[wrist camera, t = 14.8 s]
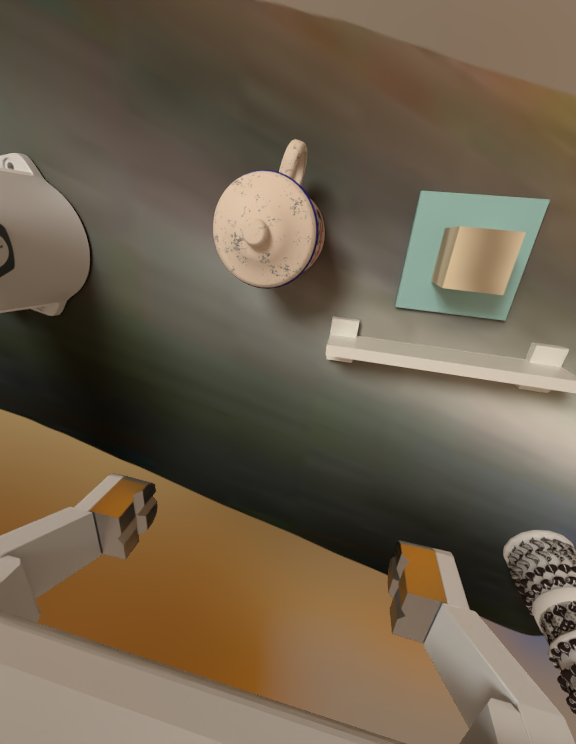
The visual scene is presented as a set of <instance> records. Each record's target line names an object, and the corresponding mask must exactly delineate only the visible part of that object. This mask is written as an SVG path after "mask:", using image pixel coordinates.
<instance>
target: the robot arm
mask: <svg viewBox="0 0 576 744" xmlns="http://www.w3.org/2000/svg"><path fill="white" fill-rule="evenodd" d="M89 267H90V251H89V244H88V240H87V236H86V233H85V230H84V228H83V225H82V223H81V221H80V219H79V217H78V215H77V214H76V212H75V210H74V209H73V207H72V206H71V205H70V203H69V202H68V201H67V200H66V199H65V198H64V196H63V195H62V194H61V193H59V192H58V191H57V190H56V189H55V188H54V187H52V186H51V185H50V184H49V183H48V182H47V181H46V180H45V179H44V178H43V177H42V175H41V174H40V172H39V171H38V169H37V167H36V166H35V165H34V163H33V162H32V161H31V159H30V158H29V157H28V156H26V155H25V154H20V153H10V154H6V155H1V156H0V313H3V312H10V311H17V310H24V309H32V310H35V311H37V312H40V313H43V314H46V315H49V316H55V315H60V314H61V313H62V311H63V309H64V307H65V304H66V302H67V300H68V299H69V298H70V297H72V296H73V295H74V294H76V293H77V292H78V291H79V290H80V289H81V288H82V286H83V285H84V283H85V281H86V279H87V276H88V272H89ZM155 492H156V489H155V484H153V483H150V482H147V481H142V480H139V479H135V478H132V477H128V476H123V475H119V474H116V473H113V474H110V475H108V476H107V477H106V478H105V479H104V480H103V481H102V482H101V483H100V484H99V485H97V486H96V488H94V489H93V490H92V491H91V492H90V493H89V494H88V495H87V496H86V497H85V498H84V499H82V500H81V502H79V503H78V504H77V505H76V506H75V507H74V508H73V507H68V508H66V509H63V510H61V511H58V512H56V513H54V514H51V515H49V516H47V517H44V518H42V519H39V520H37V521H35V522H32V523H30V524H27V525H25V526H23V527H20V528H18V529H15V530H13V531H11V532H9V533H6V534H4V535H1V536H0V744H406V743H402V742H399V741H396V740H393V739H390V738H387V737H384V736H381V735H378V734H375V733H372V732H369V731H366V730H363V729H360V728H357V727H354V726H351V725H348V724H345V723H342V722H339V721H336V720H332V719H329V718H326V717H323V716H320V715H317V714H314V713H311V712H308V711H305V710H302V709H299V708H296V707H293V706H290V705H287V704H284V703H281V702H278V701H274V700H272V699H268V698H265V697H262V696H259V695H256V694H253V693H250V692H247V691H244V690H241V689H238V688H235V687H232V686H229V685H226V684H223V683H220V682H217V681H214V680H211V679H208V678H205V677H202V676H198V675H195V674H192V673H189V672H186V671H183V670H180V669H177V668H174V667H171V666H168V665H165V664H162V663H159V662H156V661H153V660H149V659H147V658H144V657H141V656H137V655H135V654H131V653H128V652H126V651H122V650H119V649H116V648H113V647H110V646H107V645H104V644H101V643H98V642H95V641H91V640H89V639H86V638H83V637H80V636H77V635H74V634H71V633H68V632H65V631H61V630H58V629H55V628H52V627H49V626H46V625H43V624H40V623H37V622H36V621H37V620H38V619H39V618H40V610H39V607H38V604H37V602H36V598H37V597H39V596H40V595H42V594H43V593H45V592H46V591H48V590H49V589H51V588H52V587H54V586H56V585H57V584H59V583H60V582H61V581H63V580H65V579H66V578H68V577H69V576H71V575H72V574H74V573H75V572H77V571H78V570H80V569H81V568H83V567H84V566H86V565H87V564H89V563H91V562H92V561H94V560H95V559H97V558H98V557H100V556H101V554H105V555H109V556H113V557H117V558H122V559H126V558H127V557H128V556H129V554H130V553H131V552H132V550H133V549H134V548H135V546H136V545H137V543H138V542H139V534H141V533H143V532H145V531H146V530H148V528H149V527H150V526H151V524H152V523H153V520H154V518H155V516H156V513H157V501H156V499H155V498H154V497H153V494H154V493H155ZM394 549H395V557H393V558H391V561H390V565H389V570H388V592H389V594H390V595H391V597H392V599H393V601H392V604H391V607H390V616H391V627H392V634H394V635H397V636H401V637H404V638H407V639H410V640H413V641H417V642H420V643H423V644H424V645H423V646H424V647H425V650H426V651H427V653H428V655H429V657H430V659H431V660H432V662H433V664H434V666H435V667H436V669H437V671H438V673H439V675H440V676H441V678H442V680H443V682H444V684H445V686H446V687H447V689H448V691H449V693H450V695H451V697H452V698H453V700H454V702H455V704H456V706H457V707H458V709H459V711H460V713H461V715H462V716H463V718H464V720H465V722H466V723H467V725H468V727H469V730H468V732H467V733H466V735H465V736H464V738H463V739H462V741H461V742H460V744H575V742H574V739H573V737H572V735H571V732H570V730H569V728H568V726H567V723H566V721H565V719H564V717H563V716H562V715H561V713H560V712H559V711H558V710H557V709H556V707H555V706H554V705H553V704H552V703H551V701H550V700H549V699H548V698H547V697H546V696H545V694H544V693H543V692H542V691H541V690H540V688H539V687H538V686H537V685H536V684H535V682H534V681H533V680H532V679H531V678H530V676H529V675H528V674H527V673H526V672H525V670H524V669H523V668H522V667H521V665H520V664H519V663H518V662H517V661H516V659H515V658H514V657H513V656H512V655H511V654H510V652H509V651H508V650H507V649H506V648H505V646H504V645H503V644H502V643H501V642H500V641H499V639H498V638H497V637H496V636H495V634H493V632H492V631H491V630H490V628H489V627H488V626H487V625H486V624H485V622H484V621H483V620H482V619H481V618H480V616H479V615H478V614H477V613H476V612H475V611H472V610H470V609H469V606H468V603H467V599H466V596H465V593H464V590H463V586H462V583H461V580H460V576H459V573H458V570H457V567H456V563H455V560H454V557H453V555H452V554H451V552H447V551H443V550H439V549H434V548H431V547H426V546H422V545H417V544H413V543H408V542H404V541H399V540H398V541H397V543H396V545H395V548H394Z"/></svg>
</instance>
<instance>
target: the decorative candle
mask: <svg viewBox="0 0 576 744" xmlns="http://www.w3.org/2000/svg"><path fill="white" fill-rule="evenodd" d="M503 556H504V558H505V560H506V562H507V567H509V568H512V570H511V571H510V573H511V574H512V578H513V579H516V580H517V581H516V582H515V585H516V586H518V587H519V589H518V591H519V592H520V593H521V594H522V599H523V600H524V604H525V606H526V607H528V608H527V610H528V612H529V614H531V615H533V616H534V618H535V620H536V622H537V624H538V626H539V628H540V630H541V632H542V633H543V634H544V636H545V638H546V640H547V642H548V644H549V646H550V648H549V653H548V654H549V657H550V658H549V660H550V661H552V662H553V664H554V667H555V668H557V669H558V670H560V671H561V673H560V674H561V675H560V676H559V677H558V679H557V681H558V683H559V684H560V686H561V688H562V690H563V691H565V692H567V693H569V697H567V698H566V701H567V704H568V705H569V706H570V708H571V710H572V712H573V713H575V714H576V550H575V548H574V546H573V544H572V542H571V541H569V540H568V539H567V538H566V537H564V536H563V535H561V534H558V533H555V532H552V531H549V530H531V531H527V532H522V533H519V534H518V535H516V536H514V537H512V538H510V539H509V541H508V542H507V543H506V544H505V546H504V550H503ZM568 683H569V685H570V686H568Z"/></svg>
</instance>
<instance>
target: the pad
mask: <svg viewBox="0 0 576 744" xmlns="http://www.w3.org/2000/svg"><path fill="white" fill-rule="evenodd" d="M549 201H550V200H547V199H533V198H519V197H504V196H490V195H476V194H461V193H447V192H433V191H420V195H419V200H418V204H417V209H416V213H415V218H414V222H413V227H412V231H411V236H410V240H409V244H408V249H407V253H406V258H405V262H404V267H403V271H402V276H401V280H400V285H399V289H398V294H397V298H396V303H395V307H400V308H408V309H416V310H424V311H432V312H440V313H448V314H456V315H464V316H472V317H480V318H488V319H496V320H504V321H505V320H506V317H507V315H508V312H509V309H510V307H511V304H512V301H513V298H514V296H515V293H516V290H517V288H518V285H519V282H520V279H521V277H522V274H523V271H524V269H525V266H526V263H527V261H528V258H529V255H530V252H531V250H532V247H533V244H534V242H535V239H536V236H537V234H538V231H539V228H540V225H541V223H542V220H543V217H544V215H545V212H546V209H547V206H548V204H549ZM458 226H463V227H474V228H485V229H496V230H507V231H518V232H526V234H525V236H524V239H523V242H522V245H521V247H520V250H519V253H518V256H517V259H516V261H515V264H514V267H513V270H512V272H511V275H510V278H509V281H508V283H507V286H506V289H505V292H504V294H503V295H496V294H488V293H480V292H471V291H463V290H454V289H446V288H441V287H440V286H438V285H436V284H434V283H433V282H431V279H432V275H433V271H434V267H435V264H436V260H437V256H438V252H439V249H440V245H441V241H442V237H443V234H444V230H445V228H450V227H458Z"/></svg>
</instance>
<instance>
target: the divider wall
mask: <svg viewBox="0 0 576 744" xmlns="http://www.w3.org/2000/svg"><path fill="white" fill-rule="evenodd" d="M358 327H359V319H352V318H345V317H337V316H333V318H332V325H331V332H330V336H329V340H328V343H327V348H326V355H327V359H329V360H335V361H342V362H348V363H352V360H359V361H366V362H373V363H379V364H386V365H392V366H399V367H406V368H412V369H419V370H425V371H432V372H438V373H445V374H452V375H458V376H465V377H471V378H478V379H484V380H491V381H498V382H504V383H511V384H514V385H515V386H516V387H517V388H518V389H524V390H530V391H537V392H543V393H549V391H550V390H557V391H563V392H570V393H576V376H575V375H573V374H572V373H570V372H569V371H567V370H565V369H564V368H562V367H561V366H562V364H563V362H564V360H565V357H566V355H567V353H568V351H569V349H567V348H565V347H563V346H556V345H548V344H541V343H533V342H532V343H531V346H530V348H529V351H528V353H527V355H526V358H525V359H521V358H514V357H507V356H499V355H492V354H485V353H478V352H471V351H464V350H457V349H450V348H442V347H435V346H428V345H421V344H414V343H407V342H400V341H393V340H385V339H378V338H371V337H364V336H357V332H358Z"/></svg>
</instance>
